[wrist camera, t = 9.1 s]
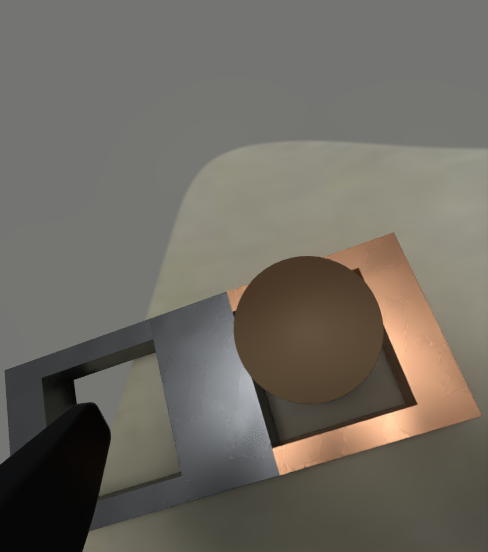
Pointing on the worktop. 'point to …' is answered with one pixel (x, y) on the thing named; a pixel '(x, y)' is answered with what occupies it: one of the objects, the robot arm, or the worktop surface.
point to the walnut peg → (308, 329)
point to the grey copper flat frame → (248, 390)
